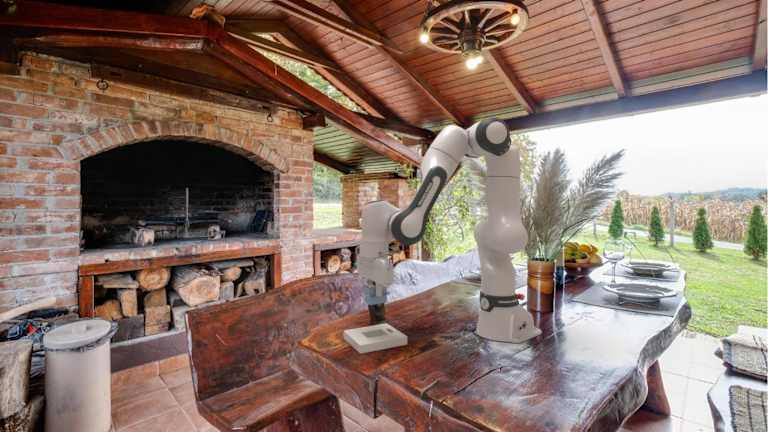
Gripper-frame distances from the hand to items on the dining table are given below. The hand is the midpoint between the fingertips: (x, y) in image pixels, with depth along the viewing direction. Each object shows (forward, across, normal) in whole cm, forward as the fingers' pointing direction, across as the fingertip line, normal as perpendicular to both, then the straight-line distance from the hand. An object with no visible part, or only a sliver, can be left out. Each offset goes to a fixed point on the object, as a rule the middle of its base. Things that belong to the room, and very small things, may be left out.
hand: (374, 294), depth 114 cm
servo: (+3, 0, 0) cm, 3 cm away
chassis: (+15, 0, 0) cm, 15 cm away
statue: (+15, +14, -8) cm, 22 cm away
